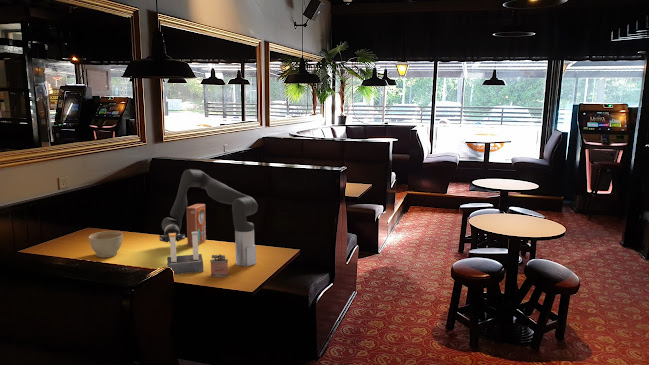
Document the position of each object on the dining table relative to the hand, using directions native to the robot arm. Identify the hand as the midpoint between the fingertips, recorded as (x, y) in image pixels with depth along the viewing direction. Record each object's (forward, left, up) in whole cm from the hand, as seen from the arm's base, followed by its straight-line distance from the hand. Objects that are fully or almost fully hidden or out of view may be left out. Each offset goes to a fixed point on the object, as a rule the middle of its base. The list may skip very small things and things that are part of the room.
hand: (172, 241), depth 236 cm
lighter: (-31, -3, -11) cm, 33 cm away
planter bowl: (+40, +12, -11) cm, 43 cm away
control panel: (+20, -30, -11) cm, 37 cm away
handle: (-16, -1, -6) cm, 17 cm away
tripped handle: (-10, +7, -6) cm, 14 cm away
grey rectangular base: (-11, +1, -11) cm, 16 cm away
